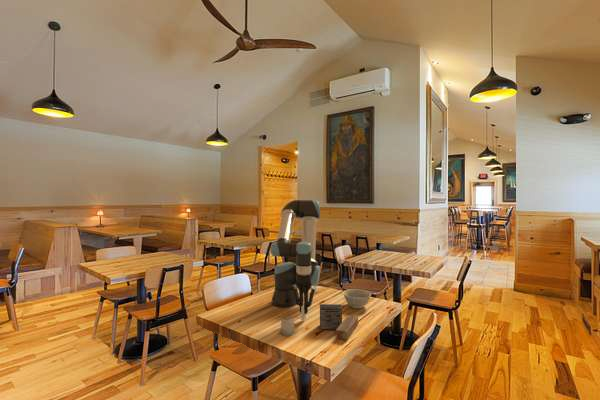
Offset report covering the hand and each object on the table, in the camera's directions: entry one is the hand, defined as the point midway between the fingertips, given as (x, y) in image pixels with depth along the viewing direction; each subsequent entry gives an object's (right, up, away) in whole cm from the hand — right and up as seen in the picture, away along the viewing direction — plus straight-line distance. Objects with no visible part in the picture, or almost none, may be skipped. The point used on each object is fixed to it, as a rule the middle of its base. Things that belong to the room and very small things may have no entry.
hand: (303, 319), depth 149 cm
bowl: (+31, -1, +21) cm, 37 cm away
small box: (+13, -1, -7) cm, 15 cm away
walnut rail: (+21, -1, -11) cm, 23 cm away
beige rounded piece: (-8, -1, -13) cm, 15 cm away
